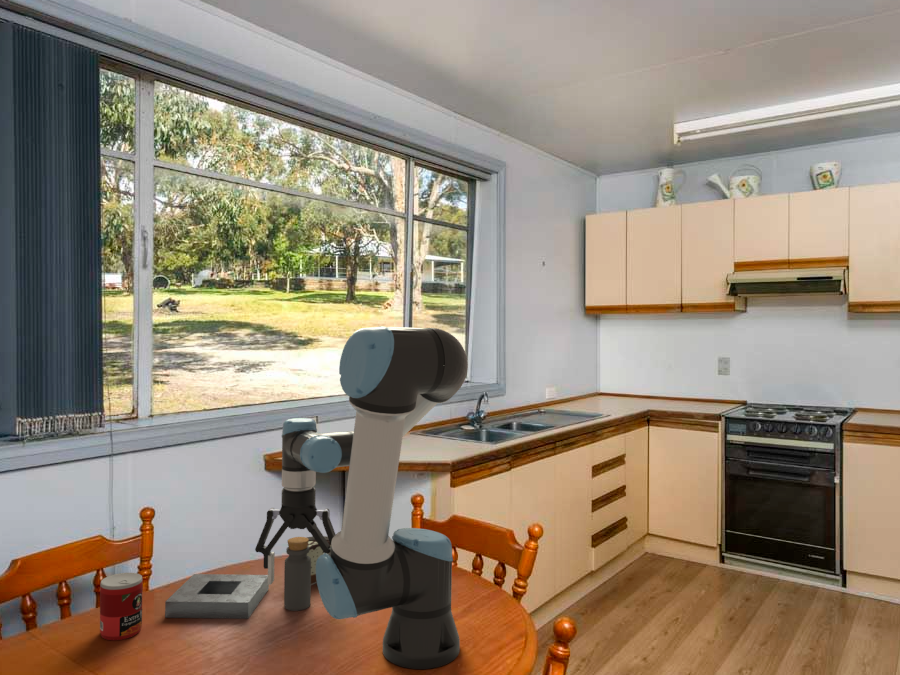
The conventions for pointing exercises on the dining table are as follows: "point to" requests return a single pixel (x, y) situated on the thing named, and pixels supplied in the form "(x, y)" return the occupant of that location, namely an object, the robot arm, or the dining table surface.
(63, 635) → the dining table surface
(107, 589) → the canned food
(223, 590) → the plate
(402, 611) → the robot arm
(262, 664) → the dining table surface
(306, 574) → the bottle
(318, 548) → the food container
